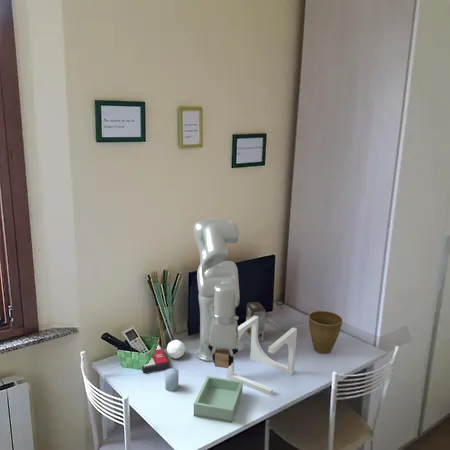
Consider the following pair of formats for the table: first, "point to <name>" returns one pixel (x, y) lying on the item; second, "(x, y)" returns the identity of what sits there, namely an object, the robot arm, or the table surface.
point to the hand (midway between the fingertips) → (222, 362)
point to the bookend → (261, 357)
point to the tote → (218, 399)
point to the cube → (222, 358)
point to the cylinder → (171, 379)
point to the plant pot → (324, 330)
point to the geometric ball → (175, 349)
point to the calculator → (156, 362)
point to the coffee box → (259, 311)
